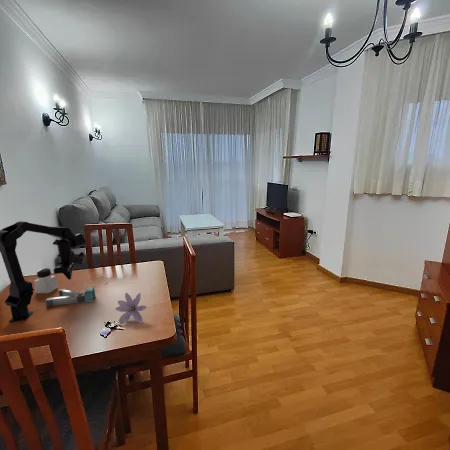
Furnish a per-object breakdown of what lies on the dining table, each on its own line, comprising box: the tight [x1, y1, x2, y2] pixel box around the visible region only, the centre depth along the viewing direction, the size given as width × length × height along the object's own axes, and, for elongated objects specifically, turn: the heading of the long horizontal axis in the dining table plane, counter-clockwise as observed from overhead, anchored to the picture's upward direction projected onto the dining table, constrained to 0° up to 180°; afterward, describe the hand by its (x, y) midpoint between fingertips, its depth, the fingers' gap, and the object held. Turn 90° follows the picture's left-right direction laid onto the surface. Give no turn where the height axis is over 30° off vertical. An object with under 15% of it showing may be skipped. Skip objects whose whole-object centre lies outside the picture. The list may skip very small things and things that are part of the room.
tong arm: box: [58, 288, 80, 297], centre depth 131 cm, size 12×2×3 cm, turn 73°
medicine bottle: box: [33, 267, 59, 295], centre depth 138 cm, size 7×7×12 cm
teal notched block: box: [83, 286, 96, 303], centre depth 128 cm, size 3×6×5 cm, turn 12°
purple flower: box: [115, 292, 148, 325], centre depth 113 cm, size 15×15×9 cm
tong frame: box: [45, 292, 86, 308], centre depth 126 cm, size 16×4×4 cm, turn 103°
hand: (69, 279), depth 135 cm, fingers closed
